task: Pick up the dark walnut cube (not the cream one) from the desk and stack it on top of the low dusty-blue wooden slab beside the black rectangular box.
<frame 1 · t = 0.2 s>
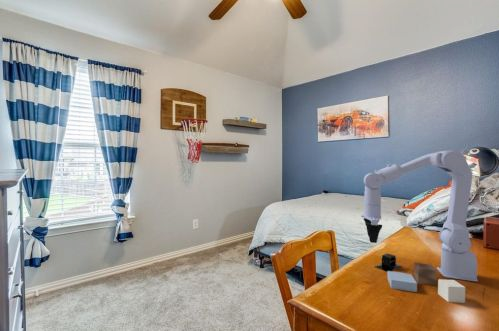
hand: (372, 239, 99), 10 cm above the table, fingers open, 7 cm apart
blue slab: (401, 286, 83), on the table
walnut cube: (424, 281, 86), on the table
cream cube: (451, 298, 75), on the table
black rectangular box: (388, 268, 97), on the table
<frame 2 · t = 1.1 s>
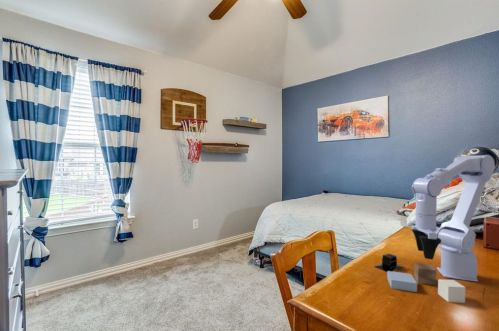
hand: (425, 254, 86), 9 cm above the table, fingers open, 7 cm apart
nothing on the table moved.
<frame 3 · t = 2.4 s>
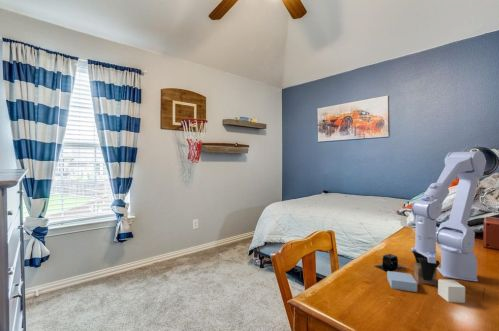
hand: (424, 276, 86), 1 cm above the table, fingers closed on walnut cube, 5 cm apart
walnut cube: (424, 280, 86), on the table, touching gripper
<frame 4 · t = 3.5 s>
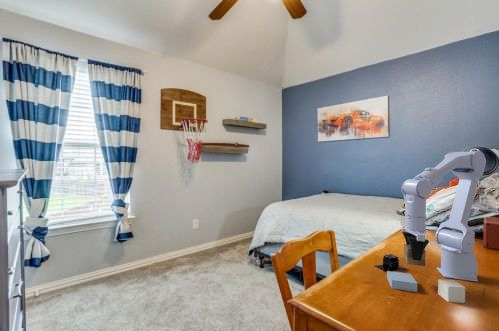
hand: (414, 256, 84), 9 cm above the table, fingers closed on walnut cube, 5 cm apart
walnut cube: (414, 262, 84), point 7 cm above the table, touching gripper
when the fingers open (6 cm above the table, at t = 4.8 s): walnut cube drops 1 cm, point 3 cm above the table.
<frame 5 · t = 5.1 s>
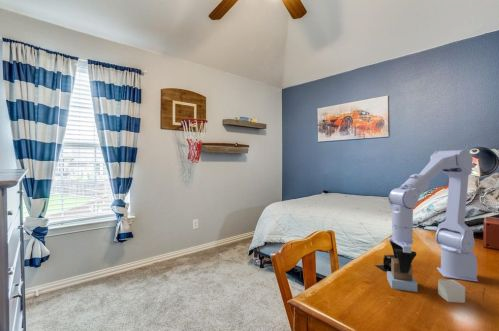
hand: (401, 267, 83), 6 cm above the table, fingers open, 7 cm apart
walnut cube: (401, 276, 83), point 3 cm above the table
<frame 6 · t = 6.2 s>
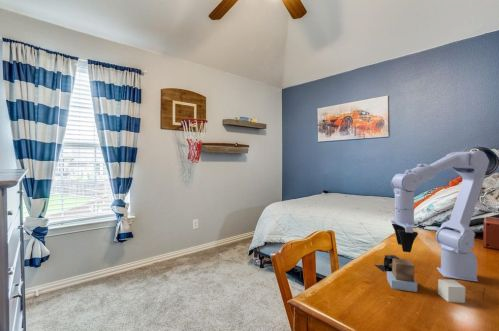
hand: (403, 248, 88), 10 cm above the table, fingers open, 7 cm apart
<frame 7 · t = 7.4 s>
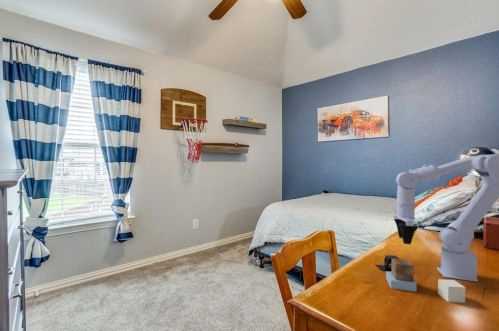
hand: (404, 240, 96), 10 cm above the table, fingers open, 7 cm apart
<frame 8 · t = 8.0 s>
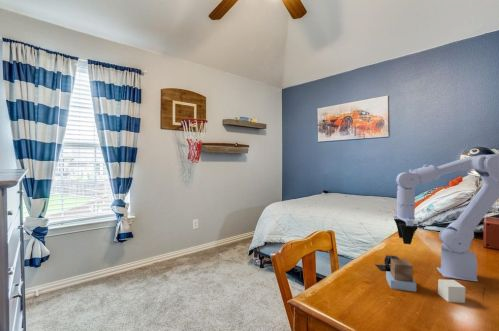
hand: (404, 240, 96), 10 cm above the table, fingers open, 7 cm apart
blue slab: (400, 286, 83), on the table, touching walnut cube
walnut cube: (401, 277, 83), point 3 cm above the table, touching blue slab
at the end: walnut cube 0.3 cm off-centre on the blue slab, point 3.0 cm above the blue slab's base; walnut cube tilted 0°; the gripper is holding nothing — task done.
